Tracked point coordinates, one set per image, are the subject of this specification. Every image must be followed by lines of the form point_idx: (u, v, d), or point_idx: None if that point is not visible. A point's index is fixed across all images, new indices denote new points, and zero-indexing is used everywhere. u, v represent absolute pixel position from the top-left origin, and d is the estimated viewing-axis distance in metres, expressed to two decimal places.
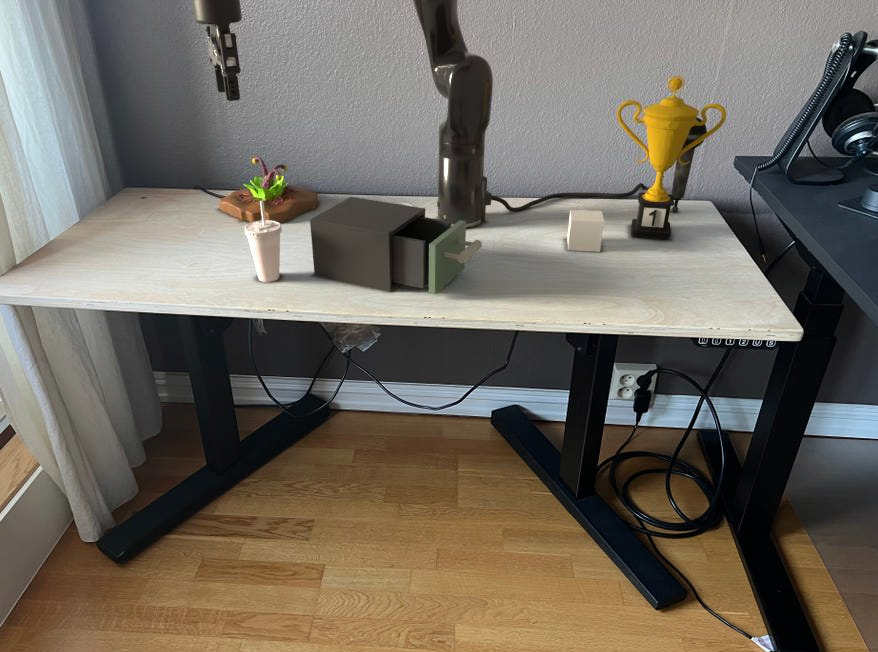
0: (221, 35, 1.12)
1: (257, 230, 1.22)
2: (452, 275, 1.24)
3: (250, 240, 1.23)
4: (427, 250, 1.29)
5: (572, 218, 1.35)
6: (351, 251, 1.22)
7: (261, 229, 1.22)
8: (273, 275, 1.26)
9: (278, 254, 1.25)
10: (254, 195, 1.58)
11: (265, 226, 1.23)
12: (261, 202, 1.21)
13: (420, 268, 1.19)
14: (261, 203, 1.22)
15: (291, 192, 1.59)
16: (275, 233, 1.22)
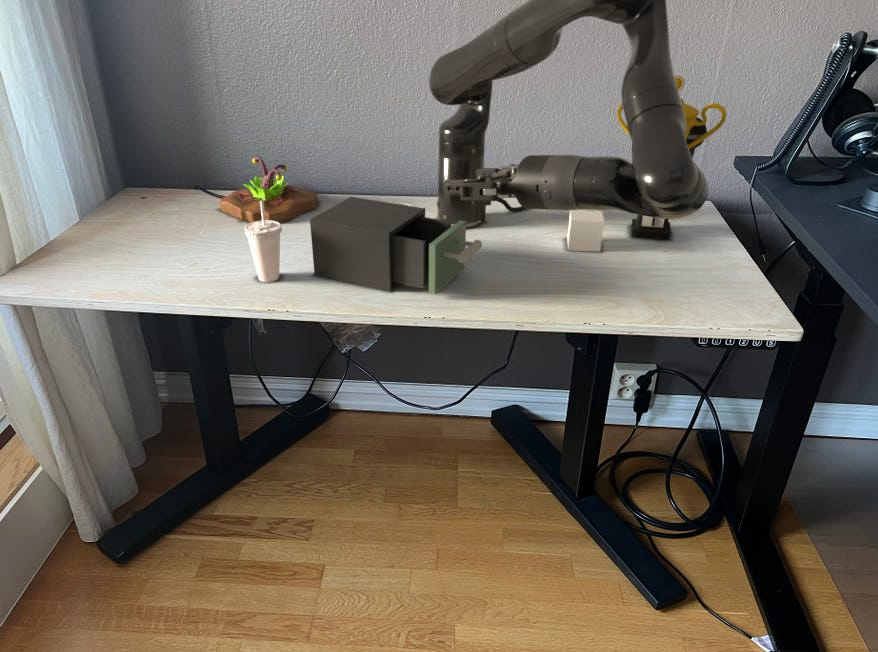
0: None
1: (257, 230, 1.22)
2: (452, 275, 1.24)
3: (250, 240, 1.23)
4: (427, 250, 1.29)
5: (572, 218, 1.35)
6: (351, 251, 1.22)
7: (261, 229, 1.22)
8: (273, 275, 1.26)
9: (278, 254, 1.25)
10: (254, 195, 1.58)
11: (265, 226, 1.23)
12: (261, 202, 1.21)
13: (420, 268, 1.19)
14: (261, 203, 1.22)
15: (291, 192, 1.59)
16: (275, 233, 1.22)
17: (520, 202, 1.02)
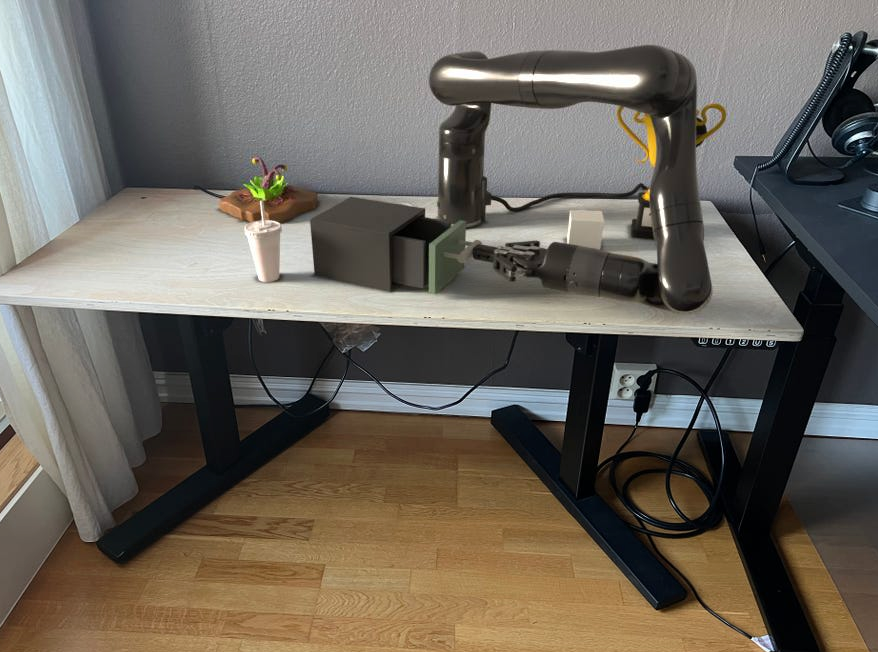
0: None
1: (257, 230, 1.22)
2: (452, 275, 1.24)
3: (250, 240, 1.23)
4: (427, 250, 1.29)
5: (572, 218, 1.35)
6: (351, 251, 1.22)
7: (261, 229, 1.22)
8: (273, 275, 1.26)
9: (278, 254, 1.25)
10: (254, 195, 1.58)
11: (265, 226, 1.23)
12: (261, 202, 1.21)
13: (420, 268, 1.19)
14: (261, 203, 1.22)
15: (291, 192, 1.59)
16: (275, 233, 1.22)
17: (544, 285, 1.13)
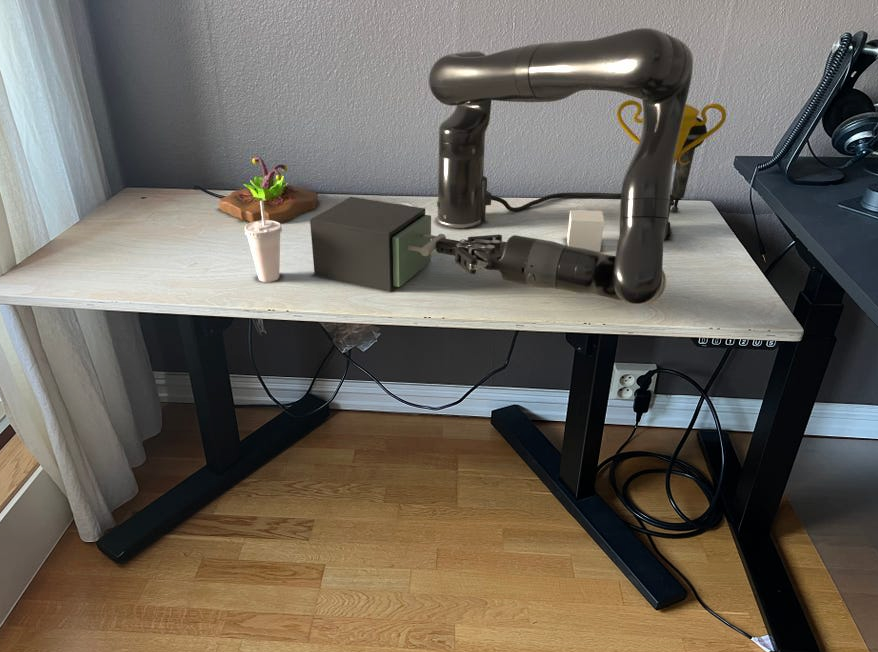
0: None
1: (257, 230, 1.22)
2: (417, 268, 1.27)
3: (250, 240, 1.23)
4: None
5: (572, 218, 1.35)
6: (351, 251, 1.22)
7: (261, 229, 1.22)
8: (273, 275, 1.26)
9: (278, 254, 1.25)
10: (254, 195, 1.58)
11: (265, 226, 1.23)
12: (261, 202, 1.21)
13: None
14: (261, 203, 1.22)
15: (291, 192, 1.59)
16: (275, 233, 1.22)
17: (504, 277, 1.15)
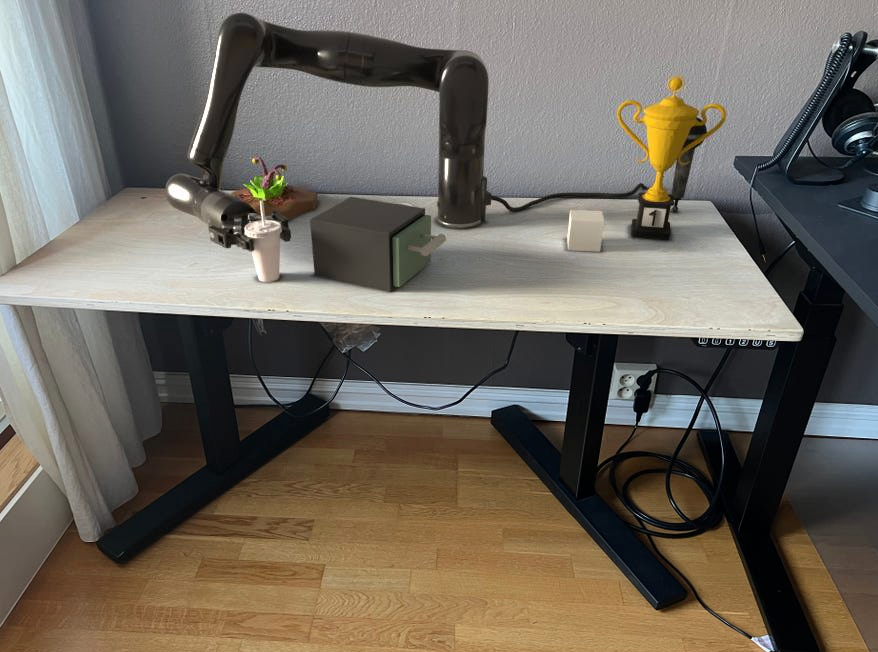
0: (210, 238, 1.27)
1: (257, 230, 1.22)
2: (417, 268, 1.27)
3: None
4: None
5: (572, 218, 1.35)
6: (351, 251, 1.22)
7: (261, 229, 1.22)
8: (273, 275, 1.26)
9: (278, 254, 1.25)
10: (254, 195, 1.58)
11: (265, 226, 1.23)
12: (261, 202, 1.21)
13: None
14: (261, 203, 1.22)
15: (291, 192, 1.59)
16: (275, 233, 1.22)
17: None
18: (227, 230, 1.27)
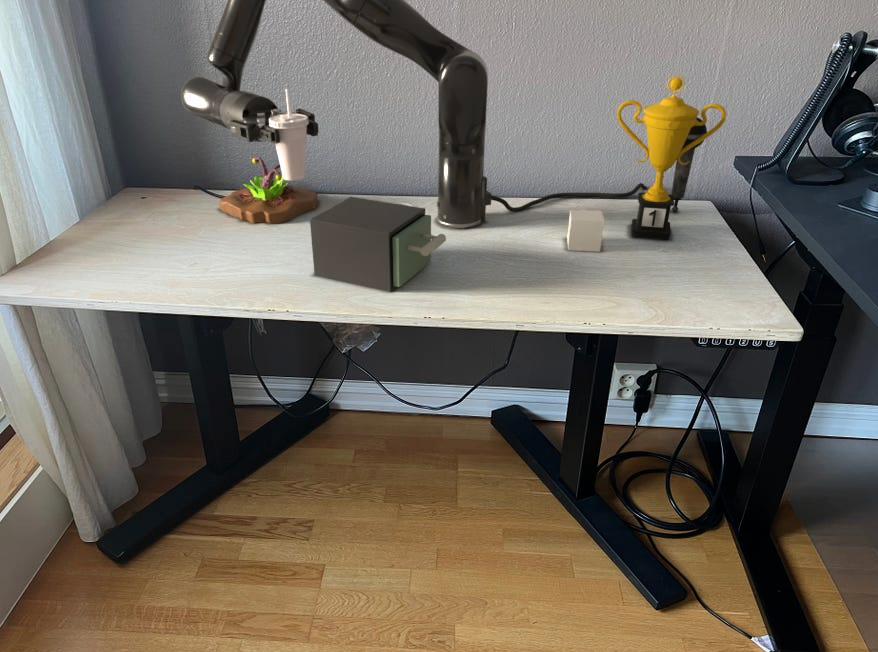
0: None
1: (283, 121, 1.13)
2: (417, 268, 1.27)
3: None
4: None
5: (572, 218, 1.35)
6: (351, 251, 1.22)
7: (287, 120, 1.14)
8: (299, 173, 1.18)
9: (304, 149, 1.17)
10: (254, 195, 1.58)
11: (291, 117, 1.14)
12: (287, 90, 1.13)
13: None
14: (287, 91, 1.13)
15: (291, 192, 1.59)
16: (302, 124, 1.14)
17: None
18: None
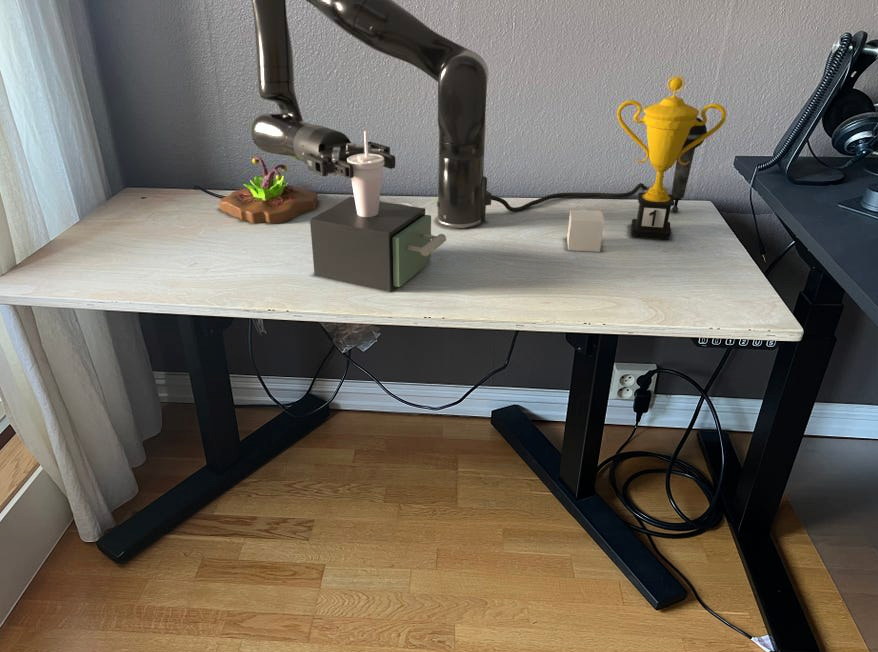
0: (308, 167, 1.24)
1: (361, 161, 1.19)
2: (417, 268, 1.27)
3: None
4: None
5: (572, 218, 1.35)
6: (351, 251, 1.22)
7: (365, 160, 1.19)
8: (374, 210, 1.24)
9: (379, 188, 1.22)
10: (254, 195, 1.58)
11: (368, 158, 1.20)
12: (365, 132, 1.19)
13: None
14: (365, 133, 1.19)
15: (291, 192, 1.59)
16: (379, 165, 1.19)
17: None
18: (325, 159, 1.24)
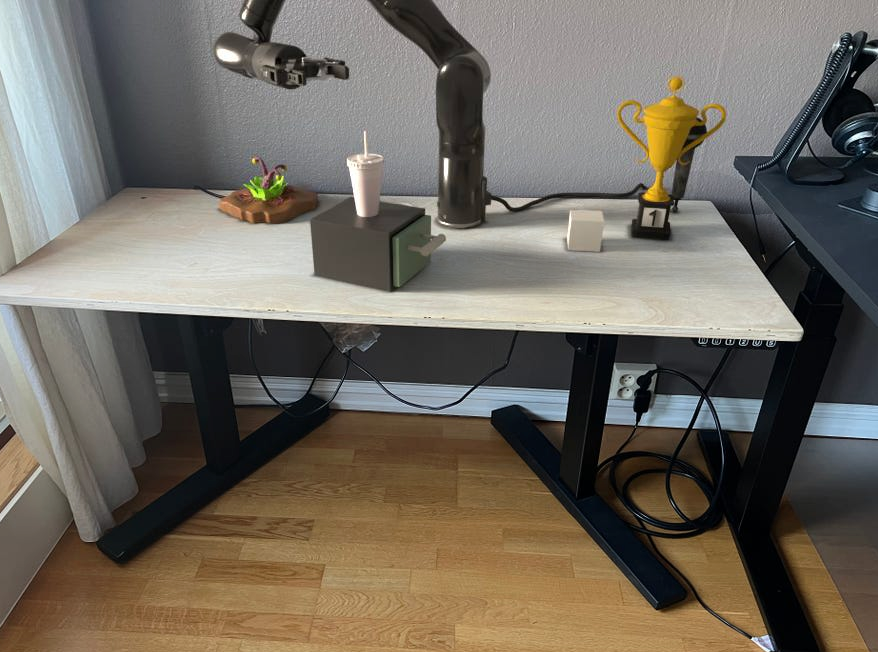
0: (263, 78, 1.26)
1: (361, 161, 1.19)
2: (417, 268, 1.27)
3: (353, 172, 1.20)
4: None
5: (572, 218, 1.35)
6: (351, 251, 1.22)
7: (365, 160, 1.19)
8: (374, 210, 1.24)
9: (379, 188, 1.22)
10: (254, 195, 1.58)
11: (368, 158, 1.20)
12: (365, 132, 1.19)
13: None
14: (365, 133, 1.19)
15: (291, 192, 1.59)
16: (379, 165, 1.19)
17: None
18: (281, 72, 1.26)
